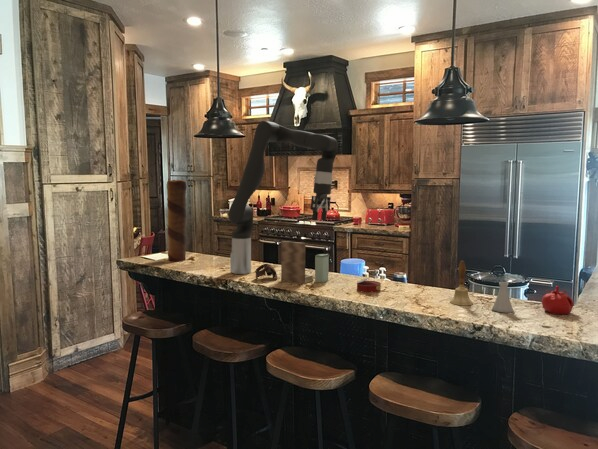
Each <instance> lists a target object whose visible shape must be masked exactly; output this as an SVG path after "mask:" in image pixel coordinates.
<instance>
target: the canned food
mask: <svg viewBox="0 0 598 449" xmlns="http://www.w3.org/2000/svg"><path fill="white" fill-rule="evenodd" d="M378 273H379V271H376V272H373V273H372V274H371V275H370V276H368V277H366V278H364V279H362V280H359V281H357V282H356V290H357V292H361V291H362V293H370V294H371V293H379V292H380V291H381V289H382V288H381V286H382V285H381V282H379V281H376V280H368V279H370V278H372V277H373V276H375V275H377V274H378Z"/></svg>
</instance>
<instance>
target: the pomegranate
mask: <svg viewBox="0 0 598 449" xmlns="http://www.w3.org/2000/svg"><path fill="white" fill-rule="evenodd" d="M559 289H560V286H558V285H556V286H555V288H553V290H549V289H547V290H546V289H545V292H548V293H546V294H544V295H543V296H542V299H541V305H542V308H543V310H544V311H546V312H548V313H549V314H553V315H568V314H570V313H571V312H572V310H573V308H574V300H573V299H572V298H571V297H570V296H569V295H568V291H565V290H562V291H560V290H559Z"/></svg>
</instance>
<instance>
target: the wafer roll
mask: <svg viewBox="0 0 598 449" xmlns="http://www.w3.org/2000/svg"><path fill="white" fill-rule="evenodd" d="M186 193H187V181H186V180H185V179H172V180H167V183H166V196H167V197H166V201H167V202H166V203H167V204H166V205H167V240H168V243H167V244H168V246H167V247H168V248H167V257H168V260H169V261H171V262H182V261H186V255H187V254H186V253H187V252H186V248H187V247H186V245H187V241H186V240H187V239H186V238H187V236H186V233H187V232H186V231H187V230H186V228H187V227H186V226H187V208H186V206H187V201H186V199H187V198H186V195H187V194H186Z"/></svg>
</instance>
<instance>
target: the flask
mask: <svg viewBox="0 0 598 449" xmlns="http://www.w3.org/2000/svg"><path fill="white" fill-rule="evenodd" d="M498 286H499V290H498V293H497V296H496V298H495V301H494V303H493V305H492V307H491V311H494V312H498V313H505V314H509V313H514V308H513V306H512V303H511V300H510V296H509V291H508V286H509V282H505V281H499V282H498Z"/></svg>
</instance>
